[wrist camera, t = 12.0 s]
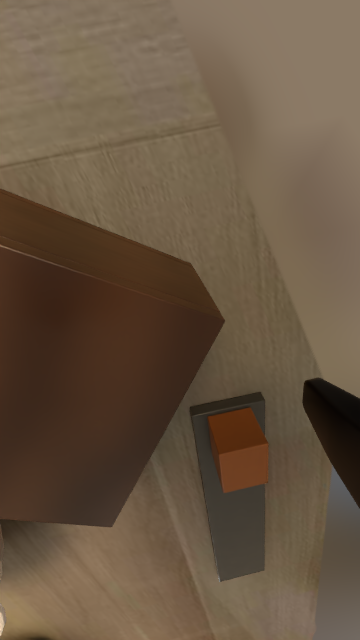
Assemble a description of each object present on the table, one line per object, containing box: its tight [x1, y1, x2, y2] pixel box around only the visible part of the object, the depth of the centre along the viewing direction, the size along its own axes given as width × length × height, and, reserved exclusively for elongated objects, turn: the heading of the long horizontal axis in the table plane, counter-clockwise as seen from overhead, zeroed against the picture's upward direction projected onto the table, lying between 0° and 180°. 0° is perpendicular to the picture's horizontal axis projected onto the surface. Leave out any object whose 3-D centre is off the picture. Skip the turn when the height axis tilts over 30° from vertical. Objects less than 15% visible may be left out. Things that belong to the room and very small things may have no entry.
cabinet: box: [0, 189, 225, 527], centre depth 16 cm, size 14×15×8 cm
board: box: [190, 392, 265, 582], centre depth 31 cm, size 30×6×1 cm, turn 8°
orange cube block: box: [207, 407, 268, 493], centre depth 23 cm, size 5×4×4 cm
